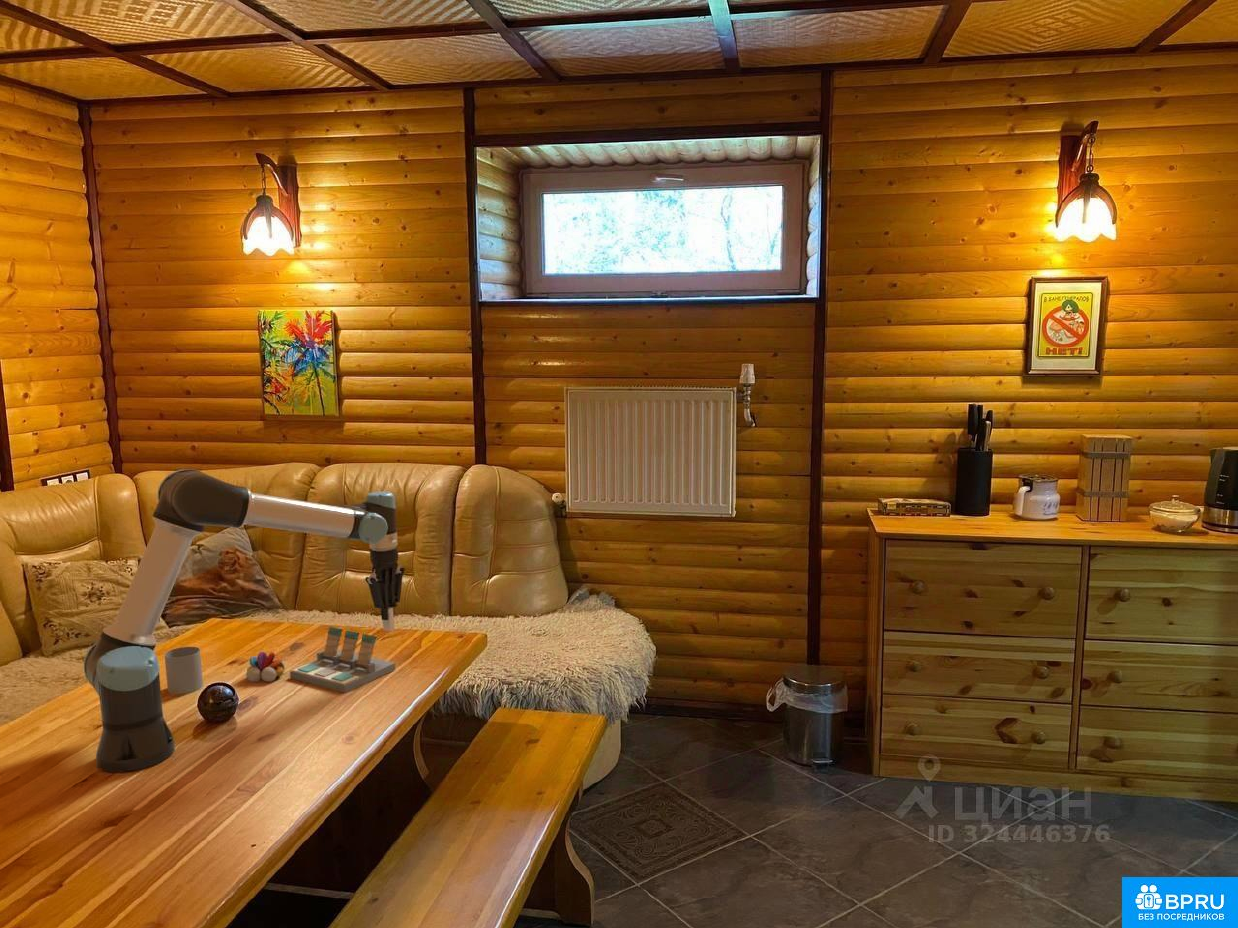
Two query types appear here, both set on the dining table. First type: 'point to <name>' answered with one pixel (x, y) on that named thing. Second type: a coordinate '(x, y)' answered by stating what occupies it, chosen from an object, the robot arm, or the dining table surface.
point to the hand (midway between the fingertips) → (389, 629)
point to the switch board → (341, 672)
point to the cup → (183, 670)
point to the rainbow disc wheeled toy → (264, 667)
